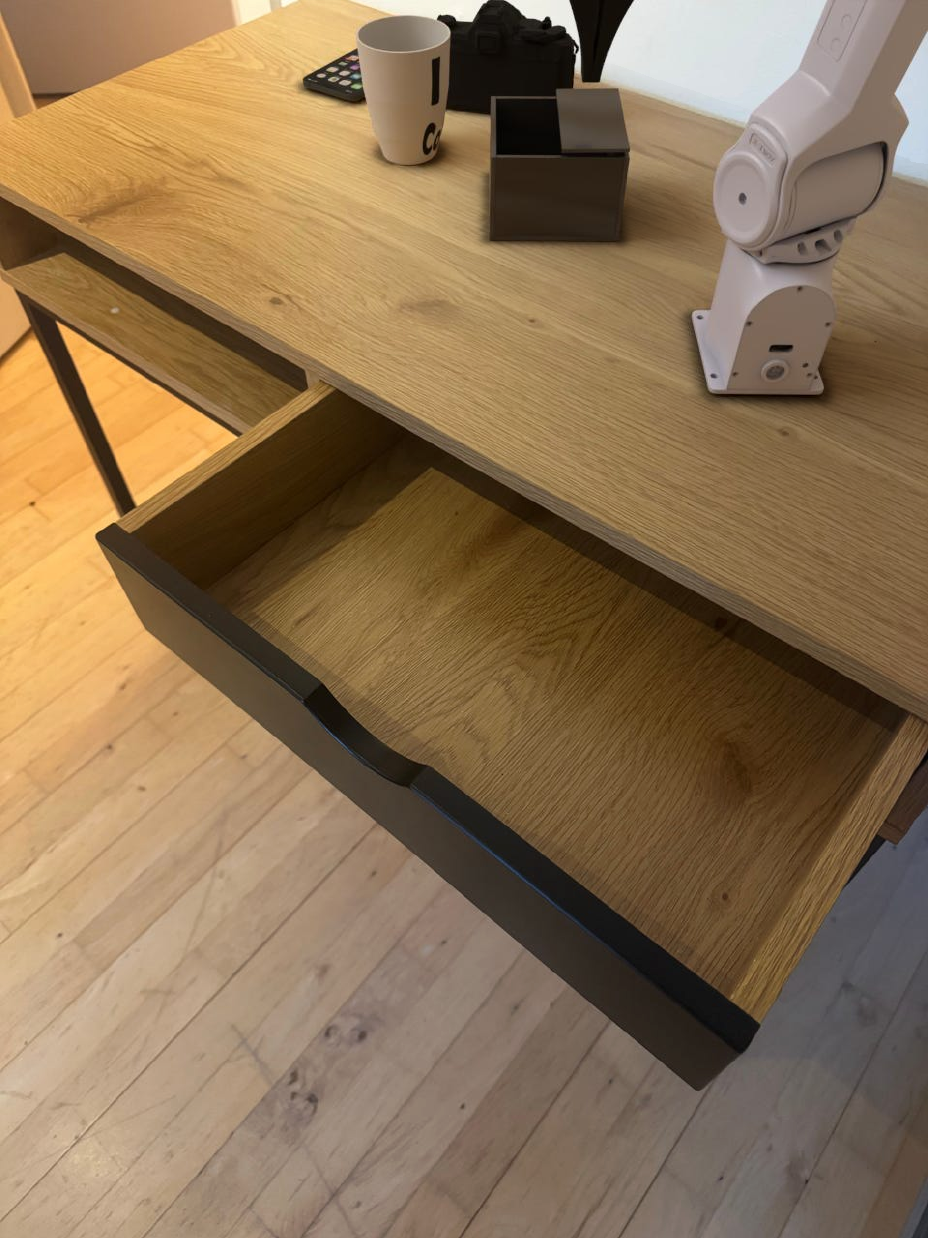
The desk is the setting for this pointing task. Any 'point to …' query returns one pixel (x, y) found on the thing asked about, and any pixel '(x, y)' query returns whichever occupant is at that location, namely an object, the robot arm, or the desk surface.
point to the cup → (405, 83)
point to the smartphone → (339, 78)
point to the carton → (549, 178)
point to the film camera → (506, 57)
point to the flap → (591, 121)
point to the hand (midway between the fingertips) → (590, 77)
